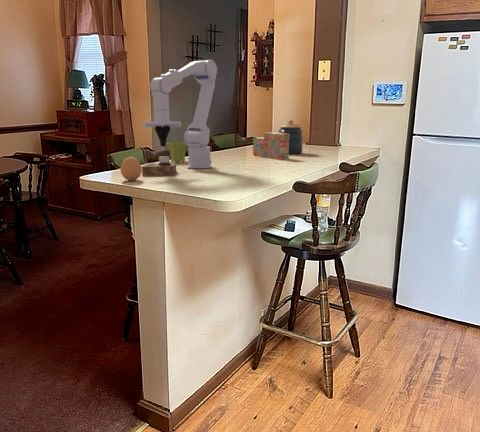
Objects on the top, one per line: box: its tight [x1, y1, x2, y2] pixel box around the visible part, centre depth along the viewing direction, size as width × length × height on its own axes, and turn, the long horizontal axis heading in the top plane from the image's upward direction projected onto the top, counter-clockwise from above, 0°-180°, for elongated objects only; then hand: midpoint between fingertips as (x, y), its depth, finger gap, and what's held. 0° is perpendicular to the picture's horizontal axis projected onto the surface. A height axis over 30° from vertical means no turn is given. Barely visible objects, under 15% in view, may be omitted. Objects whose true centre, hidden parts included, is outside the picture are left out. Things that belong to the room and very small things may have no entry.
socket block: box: [141, 162, 177, 177], centre depth 184 cm, size 12×10×4 cm
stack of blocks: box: [252, 131, 290, 161], centre depth 234 cm, size 21×6×12 cm, turn 35°
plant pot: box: [166, 141, 187, 163], centre depth 218 cm, size 9×9×9 cm
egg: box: [120, 156, 142, 182], centre depth 167 cm, size 7×7×8 cm
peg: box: [158, 155, 171, 165], centre depth 183 cm, size 4×4×4 cm
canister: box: [277, 119, 304, 156], centre depth 249 cm, size 13×13×18 cm
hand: (163, 146), depth 183 cm, fingers closed
